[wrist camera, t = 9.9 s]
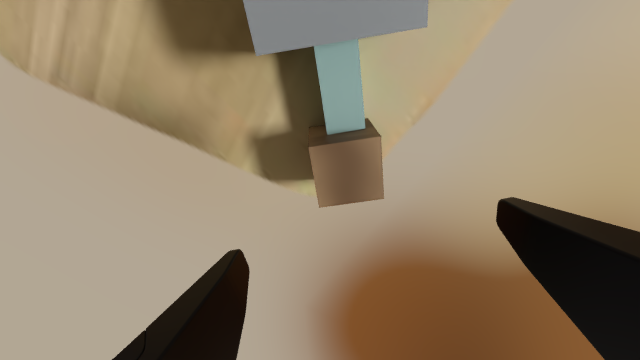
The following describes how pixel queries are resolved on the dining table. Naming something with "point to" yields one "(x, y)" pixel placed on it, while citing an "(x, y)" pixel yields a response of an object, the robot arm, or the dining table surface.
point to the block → (346, 165)
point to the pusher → (340, 86)
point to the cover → (327, 21)
